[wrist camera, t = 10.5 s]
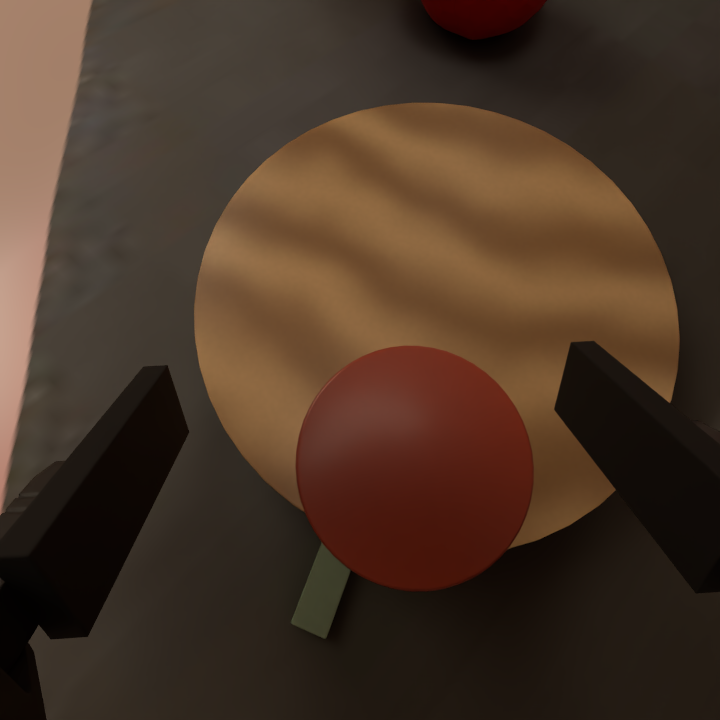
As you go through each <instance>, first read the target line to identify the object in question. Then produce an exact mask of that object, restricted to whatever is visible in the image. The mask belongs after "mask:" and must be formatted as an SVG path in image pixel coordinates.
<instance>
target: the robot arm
mask: <svg viewBox="0 0 720 720" xmlns="http://www.w3.org/2000/svg"><path fill="white" fill-rule="evenodd" d="M554 410H555V412H556V413H557V414H558V416H559V417H560V418H561V420H562V421H563V422H564V423H565V425H566V426H567V427H568V429H569V430H570V431H571V432H572V434H573V435H574V436H575V438H576V439H577V440H578V441H579V443H580V444H581V445H582V447H583V448H584V449H585V451H586V452H587V453H588V454H589V456H590V457H591V458H592V460H593V461H594V462H595V463H596V465H597V466H598V467H599V469H600V470H601V471H602V473H603V474H604V475H605V476H606V478H607V479H608V480H609V482H610V483H611V484H612V485H613V487H614V488H615V489H616V491H617V492H618V493H619V495H620V496H621V497H622V498H623V500H624V501H625V502H626V504H627V505H628V506H629V507H630V509H631V510H632V511H633V513H634V514H635V515H636V517H637V518H638V519H639V520H640V522H641V523H642V524H643V526H644V527H645V528H646V529H647V531H648V532H649V533H650V535H651V536H652V537H653V539H654V540H655V541H656V542H657V544H658V545H659V546H660V548H661V549H662V550H663V551H664V553H665V554H666V555H667V557H668V558H669V559H670V561H671V562H672V563H673V564H674V566H675V567H676V568H677V570H678V571H679V572H680V573H681V575H682V576H683V577H684V579H685V580H686V581H687V583H688V584H689V585H690V586H691V588H692V589H693V590H694V592H695V593H707V592H720V432H719V431H717V430H715V429H713V428H711V427H709V426H708V425H706V424H704V423H702V422H700V421H698V420H693V421H691V420H690V419H689V418H687V417H686V416H685V415H684V414H682V413H681V412H680V411H679V410H678V409H676V408H675V407H674V406H673V405H672V404H670V403H669V402H668V401H667V400H665V399H664V398H663V397H662V396H661V395H659V394H658V393H657V392H656V391H654V390H653V389H652V388H651V387H650V386H648V385H647V384H646V383H645V382H644V381H642V380H641V379H640V378H639V377H637V376H636V375H635V374H634V373H633V372H631V371H630V370H629V369H628V368H626V367H625V366H624V365H623V364H622V363H620V362H619V361H618V360H617V359H616V358H614V357H613V356H612V355H611V354H609V353H608V352H607V351H606V350H605V349H603V348H602V347H601V346H600V345H598V344H597V343H596V342H595V341H580V342H571V343H570V347H569V351H568V355H567V359H566V363H565V367H564V371H563V375H562V379H561V383H560V387H559V391H558V395H557V399H556V403H555V407H554ZM188 433H189V430H188V427H187V424H186V421H185V418H184V415H183V411H182V408H181V405H180V402H179V399H178V396H177V393H176V390H175V387H174V384H173V381H172V378H171V375H170V372H169V369H168V365H165V366H148V367H143V368H142V369H141V370H140V372H139V373H138V374H137V375H136V376H135V378H134V379H133V380H132V381H131V382H130V384H129V385H128V386H127V387H126V388H125V390H124V391H123V392H122V393H121V394H120V396H119V397H118V398H117V399H116V401H115V402H114V403H113V404H112V405H111V407H110V408H109V409H108V410H107V411H106V413H105V414H104V415H103V416H102V417H101V419H100V420H99V421H98V422H97V423H96V425H95V426H94V427H93V428H92V430H91V431H90V432H89V433H88V434H87V436H86V437H85V438H84V439H83V440H82V442H81V443H80V444H79V445H78V446H77V448H76V449H75V450H74V451H73V453H72V454H71V455H70V456H69V457H68V459H67V460H66V461H56V462H54V463H53V464H51V465H50V466H49V467H47V468H46V469H45V470H43V471H42V472H40V473H39V474H38V475H36V476H35V477H34V478H33V479H32V480H31V481H30V482H29V484H28V485H27V486H26V487H25V488H24V489H23V490H22V491H21V493H20V494H19V497H18V498H15V499H14V501H13V502H12V503H11V504H10V505H9V506H8V507H7V509H6V512H5V513H2V514H1V515H0V720H47V719H46V714H45V709H44V703H43V698H42V693H41V687H40V682H39V677H38V671H37V666H36V660H35V655H34V651H33V649H32V648H31V646H30V644H29V643H28V641H29V640H30V638H31V636H32V635H33V633H34V631H35V630H36V628H37V627H38V625H40V627H41V628H42V629H43V630H44V631H45V633H46V634H47V635H48V636H49V638H50V639H63V638H77V637H88V635H89V633H90V631H91V629H92V627H93V625H94V623H95V621H96V619H97V617H98V615H99V613H100V611H101V609H102V607H103V605H104V603H105V601H106V599H107V597H108V595H109V593H110V591H111V589H112V587H113V585H114V583H115V581H116V579H117V577H118V575H119V573H120V571H121V569H122V567H123V565H124V563H125V561H126V558H127V556H128V554H129V552H130V550H131V548H132V546H133V544H134V542H135V540H136V538H137V536H138V534H139V532H140V530H141V528H142V526H143V524H144V522H145V520H146V518H147V516H148V514H149V512H150V510H151V508H152V506H153V504H154V502H155V500H156V498H157V496H158V494H159V492H160V490H161V488H162V486H163V484H164V482H165V480H166V478H167V476H168V474H169V472H170V470H171V468H172V466H173V464H174V462H175V460H176V458H177V456H178V454H179V452H180V450H181V448H182V446H183V444H184V441H185V439H186V437H187V435H188Z"/></svg>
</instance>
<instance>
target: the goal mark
mask: <svg viewBox="0 0 720 720" xmlns="http://www.w3.org/2000/svg"><path fill="white" fill-rule="evenodd" d="M350 572H351V570H350V569H348V568H347V567H346V566H345V565H343V564H342V563H341V562H340V561H339V560H338V559H336V558H335V557H334V556H333V555H332V554H331V552H330V551H329V550H328V549H327V548H326V547H325V546H324V545H323V543H321V546H320V548H319V551H318V553H317V556H316V558H315V561H314V564H313V566H312V569H311V571H310V574H309V577H308V579H307V582H306V584H305V587H304V590H303V592H302V595H301V597H300V600H299V603H298V605H297V608H296V610H295V613H294V615H293V618H292V621H291V624H293V625H295V626H297V627H299V628H301V629H304V630H306V631H308V632H310V633H312V634H315V635H317V636H319V637H321V638H324V639H326V638H327V635H328V633H329V630H330V627H331V624H332V621H333V619H334V616H335V613H336V610H337V608H338V605H339V602H340V599H341V597H342V594H343V591H344V588H345V586H346V583H347V580H348V577H349V575H350Z"/></svg>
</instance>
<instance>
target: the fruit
mask: <svg viewBox="0 0 720 720" xmlns="http://www.w3.org/2000/svg"><path fill="white" fill-rule="evenodd" d="M421 1H422V4H423V6H424V8H425V10H426V11H427V13H428V14H429V16H430V17H431V19H432V20H433V21H434V22H435V23H436V24H438V25H439V26H441V27H442V28H444V29H445V30H448V31H450V32H453V33H455V34H458V35H460V36H463V37H465V38H468V39H471V40H477V39H485V38H489V37H493V36H497V35H501V34H504V33H507V32H510V31H513V30H515V29H517V28H519V27H520V26H522V25H523V24H524V23H525V22H527V21H528V20H529V19H530V18H531V17H532V16H533V15H534V14H535V13H537V12H538V11H539V10H540V9H541V7H542V6H543V5H544V3H545V2H546V1H547V0H421Z"/></svg>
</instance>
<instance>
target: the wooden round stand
mask: <svg viewBox="0 0 720 720" xmlns="http://www.w3.org/2000/svg"><path fill="white" fill-rule="evenodd" d="M194 320H195V341H196V347H197V353H198V359H199V365H200V370H201V373H202V376H203V379H204V382H205V386H206V389H207V392H208V395H209V398H210V400H211V402H212V404H213V407H214V409H215V411H216V413H217V415H218V417H219V419H220V421H221V423H222V425H223V427H224V429H225V430H226V432H227V433H228V435H229V436H230V438H231V439H232V441H233V442H234V444H235V445H236V447H237V448H238V450H239V451H240V453H241V454H242V456H243V457H244V458H245V459H246V460H247V462H248V463H249V464H250V465H251V466H252V467H253V468H254V469H255V470H256V472H257V473H258V474H259V475H260V476H261V477H262V478H263V479H264V481H265V482H266V483H268V484H269V485H270V486H271V487H272V488H274V489H275V490H276V491H277V492H278V493H279V494H281V495H282V496H283V497H284V498H285V499H287V500H288V501H289V502H290V503H291V504H292V505H294V506H295V507H297V508H299V509H300V510H302V511H303V512H305V514H306V516H307V518H308V520H309V522H310V524H311V526H312V528H313V530H314V532H315V533H316V535H317V536H318V537H319V539H320V540H321V542H322V543H323V545H324V546H325V547H326V548H327V549H328V550H329V551H330V552H331V554H332V555H333V556H334V557H335V558H336V559H338V560H339V561H340V562H341V563H342V564H343V565H345V566H346V567H347V568H348V569H350V570H351V571H353V572H355V573H356V574H358V575H359V576H361V577H363V578H365V579H367V580H369V581H371V582H374V583H376V584H378V585H382V586H385V587H388V588H392V589H396V590H403V591H410V592H428V591H435V590H442V589H446V588H449V587H453V586H456V585H459V584H462V583H464V582H466V581H468V580H470V579H472V578H474V577H476V576H477V575H479V574H480V573H482V572H483V571H485V570H486V569H488V568H489V567H490V566H491V565H493V564H494V563H495V562H496V561H497V560H498V559H499V558H500V557H501V556H502V555H503V554H504V553H505V551H506V550H507V549H510V548H513V547H516V546H520V545H523V544H526V543H530V542H533V541H536V540H539V539H541V538H543V537H546V536H548V535H550V534H552V533H554V532H556V531H558V530H561V529H563V528H565V527H567V526H569V525H571V524H572V523H574V522H575V521H577V520H578V519H580V518H581V517H583V516H584V515H586V514H587V513H589V512H590V511H592V510H593V509H595V508H596V507H598V506H599V505H600V504H601V503H602V502H603V501H605V500H606V499H607V498H608V497H609V496H610V495H611V494H612V493H613V492H614V491H615V490H616V489H615V488H614V487H613V485H612V484H611V483H610V482H609V480H608V479H607V478H606V476H605V475H604V474H603V473H602V471H601V470H600V469H599V467H598V466H597V465H596V463H595V462H594V461H593V460H592V458H591V457H590V456H589V454H588V453H587V452H586V451H585V449H584V448H583V447H582V445H581V444H580V443H579V441H578V440H577V439H576V438H575V436H574V435H573V434H572V432H571V431H570V430H569V429H568V427H567V426H566V425H565V423H564V422H563V421H562V420H561V418H560V417H559V416H558V414H557V413H556V412H555V410H554V407H555V403H556V399H557V395H558V391H559V387H560V383H561V379H562V375H563V371H564V367H565V363H566V359H567V355H568V351H569V347H570V343H571V342H580V341H595V342H596V343H597V344H598V345H600V346H601V347H602V348H603V349H605V350H606V351H607V352H608V353H609V354H611V355H612V356H613V357H614V358H616V359H617V360H618V361H619V362H620V363H622V364H623V365H624V366H625V367H626V368H628V369H629V370H630V371H631V372H633V373H634V374H635V375H636V376H637V377H639V378H640V379H641V380H642V381H644V382H645V383H646V384H647V385H648V386H650V387H651V388H652V389H653V390H654V391H656V392H657V393H658V394H659V395H661V396H662V397H663V398H664V399H665V400H667V401H668V402H669V403H670V402H671V399H672V394H673V390H674V385H675V380H676V376H677V371H678V359H679V343H680V336H679V323H678V311H677V305H676V301H675V296H674V292H673V287H672V282H671V279H670V276H669V273H668V271H667V268H666V265H665V262H664V260H663V257H662V254H661V252H660V250H659V248H658V246H657V244H656V242H655V240H654V238H653V236H652V234H651V232H650V230H649V229H648V227H647V225H646V224H645V222H644V221H643V219H642V218H641V216H640V215H639V213H638V212H637V211H636V209H635V208H634V206H633V205H632V203H631V202H630V201H629V200H628V199H627V197H626V196H625V195H624V194H623V193H622V192H621V191H620V189H619V188H618V187H617V186H616V185H615V184H614V182H613V181H612V180H610V179H609V178H608V177H607V176H606V175H605V174H604V173H603V172H602V171H601V170H600V169H598V168H597V167H596V166H595V165H594V164H593V163H592V162H591V161H589V160H588V159H586V158H585V157H584V156H582V155H581V154H580V153H578V152H577V151H576V150H574V149H573V148H572V147H570V146H569V145H567V144H565V143H563V142H562V141H560V140H558V139H557V138H555V137H553V136H551V135H550V134H548V133H546V132H544V131H542V130H540V129H538V128H535V127H533V126H531V125H529V124H526V123H524V122H522V121H520V120H517V119H514V118H511V117H508V116H505V115H502V114H498V113H495V112H492V111H487V110H483V109H478V108H473V107H469V106H462V105H453V104H444V103H406V104H396V105H386V106H381V107H376V108H371V109H367V110H362V111H358V112H355V113H352V114H349V115H346V116H342V117H339V118H336V119H333V120H331V121H329V122H327V123H325V124H322V125H320V126H318V127H316V128H314V129H311V130H309V131H308V132H306V133H304V134H303V135H301V136H299V137H298V138H296V139H294V140H293V141H291V142H289V143H288V144H286V145H285V146H284V147H282V148H281V149H280V150H278V151H277V152H276V153H275V154H273V155H272V156H271V157H269V158H268V159H267V160H266V161H265V162H264V163H263V164H262V165H261V166H260V167H259V168H258V169H257V170H256V171H255V172H254V173H253V174H252V175H251V176H250V177H249V178H248V179H247V180H246V181H245V182H244V183H243V185H242V186H241V187H240V188H239V190H238V191H237V192H236V194H235V195H234V196H233V198H232V199H231V200H230V201H229V203H228V205H227V207H226V208H225V210H224V212H223V213H222V215H221V217H220V219H219V220H218V222H217V224H216V226H215V228H214V230H213V233H212V235H211V238H210V240H209V242H208V245H207V247H206V249H205V253H204V256H203V260H202V264H201V268H200V271H199V275H198V280H197V288H196V297H195V305H194Z"/></svg>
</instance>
